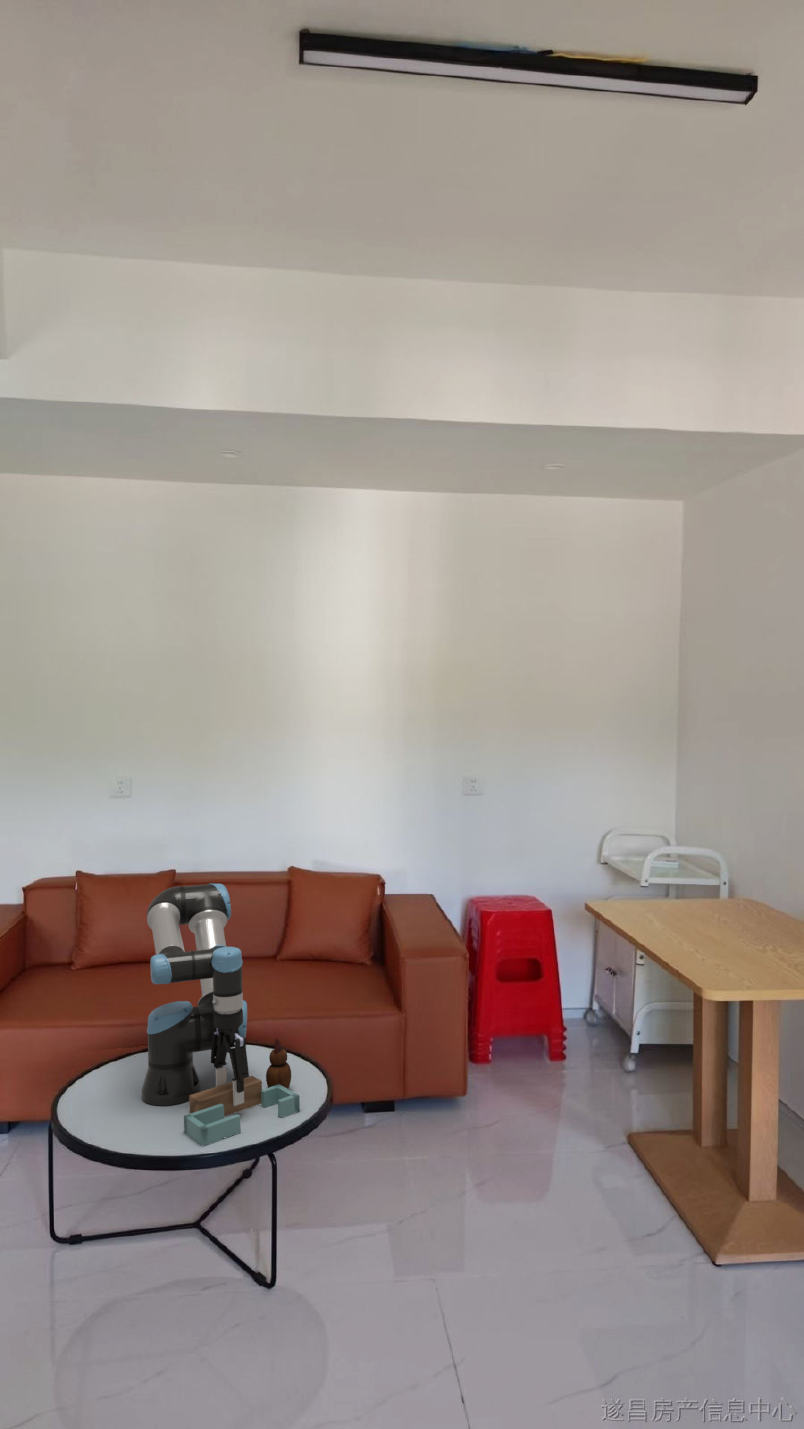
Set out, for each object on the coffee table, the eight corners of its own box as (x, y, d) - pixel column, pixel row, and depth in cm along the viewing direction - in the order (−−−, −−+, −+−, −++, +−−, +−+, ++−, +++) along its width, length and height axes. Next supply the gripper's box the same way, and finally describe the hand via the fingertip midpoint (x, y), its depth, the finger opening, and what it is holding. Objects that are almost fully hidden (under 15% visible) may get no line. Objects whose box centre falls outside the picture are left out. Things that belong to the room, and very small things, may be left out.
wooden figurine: (279, 1098, 226) (278, 1041, 226) (262, 1094, 229) (261, 1037, 229) (295, 1089, 231) (294, 1033, 232) (279, 1085, 234) (277, 1030, 235)
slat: (189, 1119, 215) (189, 1095, 216) (252, 1098, 227) (251, 1075, 227) (199, 1126, 212) (198, 1101, 212) (262, 1104, 223) (261, 1080, 223)
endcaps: (184, 1132, 208) (183, 1115, 208) (279, 1099, 225) (279, 1084, 225) (202, 1146, 201) (202, 1129, 201) (299, 1111, 218) (299, 1095, 218)
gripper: (195, 1003, 226) (197, 1090, 226) (235, 1023, 210) (237, 1116, 210) (221, 997, 231) (223, 1082, 231) (262, 1015, 215) (264, 1107, 214)
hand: (229, 1098), depth 220 cm, fingers open, 8 cm apart
